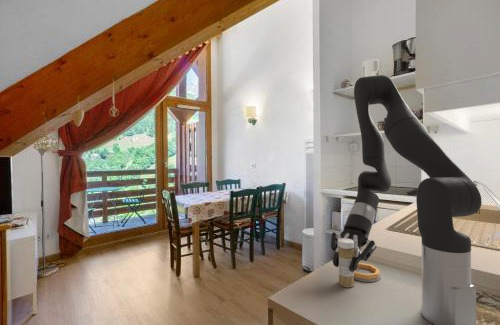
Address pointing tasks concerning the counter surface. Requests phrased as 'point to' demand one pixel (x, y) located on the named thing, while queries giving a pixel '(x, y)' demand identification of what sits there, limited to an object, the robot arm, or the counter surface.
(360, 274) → the orange rimmed grey dish
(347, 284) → the spice jar
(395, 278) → the counter surface
